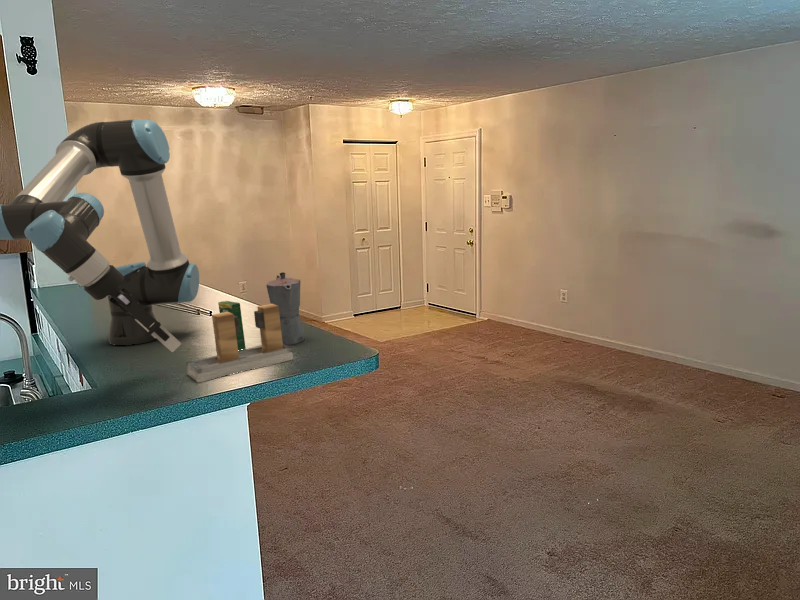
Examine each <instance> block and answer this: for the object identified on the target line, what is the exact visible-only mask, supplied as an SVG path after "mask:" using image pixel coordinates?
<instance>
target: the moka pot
mask: <svg viewBox="0 0 800 600" xmlns="http://www.w3.org/2000/svg"><path fill="white" fill-rule="evenodd" d="M266 289H267V294H268V299H269V304H275V305H278V306H279V315H280V324H281V334H282V343H283V344H285V345H287V346H290V345H295V344H299V343H300V344H301V342H303V341H304V340H306V336H305V330H304V328H303V322H302V320H301V319H302V318H301V315H300V306H301V279H296V278H292V277H286V272H279V275H276V278H275V279H273V280H270V281H268V282H267V283H266Z"/></svg>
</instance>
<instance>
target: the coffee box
mask: <svg viewBox="0 0 800 600" xmlns="http://www.w3.org/2000/svg"><path fill="white" fill-rule="evenodd" d="M217 304H218V311H219V312H218V313H224V312H230V313H232V314H234V315H235V316H237V317H238V319H239V328H240V333H237V334H236V338H237V346H238V350H241V349H247V348H246V341H245V334H244V333H245V332H244V325H243V318H242V309H241V302H236V301H235V302H234V301H230V300H223V301H219V302H217Z"/></svg>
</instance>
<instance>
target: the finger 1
mask: <svg viewBox="0 0 800 600" xmlns="http://www.w3.org/2000/svg"><path fill="white" fill-rule="evenodd" d="M211 318H212V319H211V320H212V327H213V334H214V342H215V347H216V348H215V349H216V350H215V351H216V355H217V358H218V363H221V362H225V361H229V360H234V359H238V358H239V354H238V346H237V338H236V334H237V333H240V328H239V319H238V317H237V316H235V315H234V314H232V313H230V312H224V313H220V312H218V313H214V314H211Z"/></svg>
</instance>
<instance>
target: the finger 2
mask: <svg viewBox="0 0 800 600" xmlns="http://www.w3.org/2000/svg"><path fill="white" fill-rule="evenodd" d="M256 306H257V307H256V308H257V310H254V311H253V317H254V324H255V327H256V328H258V329H259V333H260V342H261V345H262V352H268V351H273V350H277V349H281V348H283V343H282V334H281V324H280V315H279V306H278V305H275V304H271V303H268V304H263V305H256Z"/></svg>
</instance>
